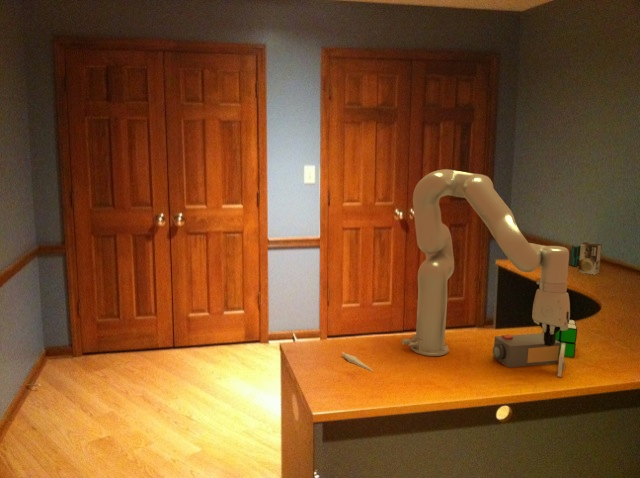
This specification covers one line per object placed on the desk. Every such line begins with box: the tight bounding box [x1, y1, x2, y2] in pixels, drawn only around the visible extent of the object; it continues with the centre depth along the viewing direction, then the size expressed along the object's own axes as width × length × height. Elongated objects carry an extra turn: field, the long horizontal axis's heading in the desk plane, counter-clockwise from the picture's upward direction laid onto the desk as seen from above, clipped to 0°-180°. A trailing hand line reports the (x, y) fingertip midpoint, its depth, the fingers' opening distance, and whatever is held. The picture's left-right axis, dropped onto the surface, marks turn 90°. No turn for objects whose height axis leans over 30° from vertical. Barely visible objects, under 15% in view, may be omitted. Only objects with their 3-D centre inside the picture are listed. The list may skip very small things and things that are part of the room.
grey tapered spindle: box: [341, 351, 374, 373], centre depth 179 cm, size 15×3×2 cm, turn 37°
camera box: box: [492, 332, 560, 368], centre depth 185 cm, size 20×9×8 cm, turn 104°
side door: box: [557, 343, 566, 378], centre depth 177 cm, size 13×2×7 cm, turn 154°
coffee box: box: [578, 241, 602, 276], centre depth 311 cm, size 9×6×16 cm
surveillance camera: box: [568, 244, 581, 268], centre depth 330 cm, size 6×12×10 cm
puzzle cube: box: [541, 319, 578, 359], centre depth 194 cm, size 10×10×10 cm
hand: (549, 344), depth 176 cm, fingers closed
